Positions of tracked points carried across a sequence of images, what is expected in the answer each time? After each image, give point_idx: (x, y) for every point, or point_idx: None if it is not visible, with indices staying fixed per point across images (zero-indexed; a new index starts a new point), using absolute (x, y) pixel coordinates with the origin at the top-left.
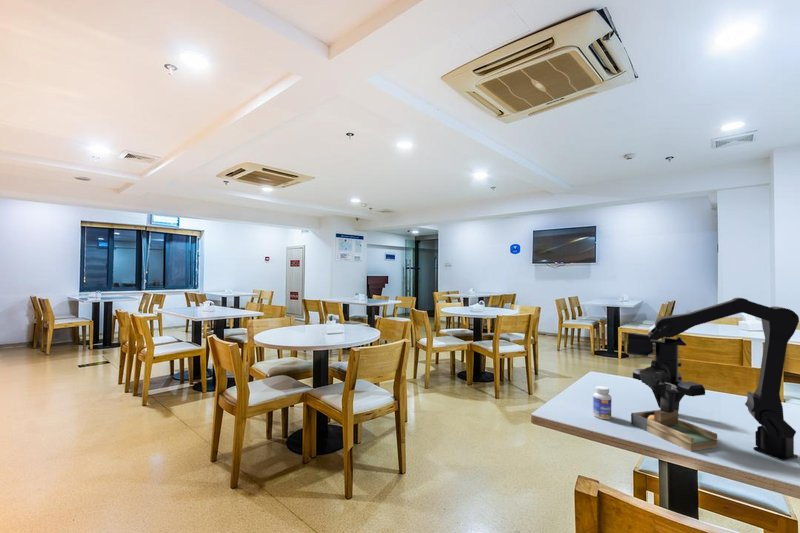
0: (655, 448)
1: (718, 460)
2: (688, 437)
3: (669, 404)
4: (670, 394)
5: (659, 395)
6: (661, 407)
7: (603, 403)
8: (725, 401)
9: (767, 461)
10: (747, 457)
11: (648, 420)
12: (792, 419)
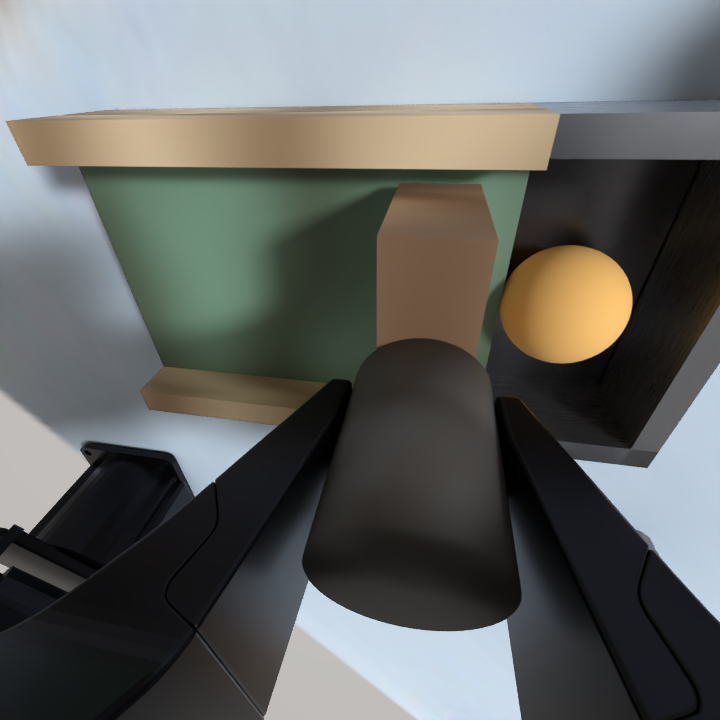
0: None
1: (3, 175)
2: (32, 120)
3: (302, 443)
4: (50, 682)
5: (553, 603)
6: (447, 374)
7: None
8: None
9: (70, 397)
10: (92, 366)
11: (533, 115)
12: (365, 677)
